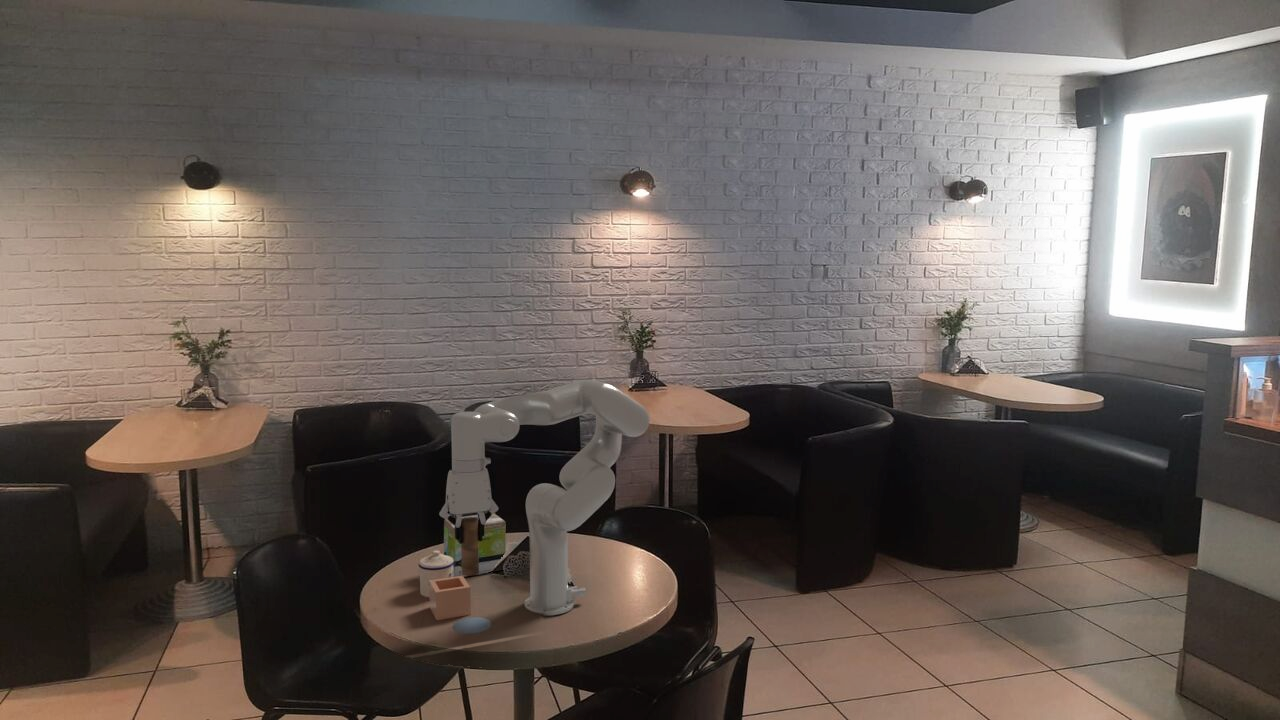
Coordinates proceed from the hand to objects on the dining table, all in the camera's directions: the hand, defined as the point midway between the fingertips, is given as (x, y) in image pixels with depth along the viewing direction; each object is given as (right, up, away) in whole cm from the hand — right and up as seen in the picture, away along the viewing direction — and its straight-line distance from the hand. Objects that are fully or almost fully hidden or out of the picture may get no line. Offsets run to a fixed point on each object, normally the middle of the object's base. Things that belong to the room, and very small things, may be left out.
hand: (469, 540), depth 206 cm
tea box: (-6, -17, +41) cm, 45 cm away
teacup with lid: (-13, -19, +25) cm, 34 cm away
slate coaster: (0, -22, +3) cm, 22 cm away
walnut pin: (0, -8, +1) cm, 8 cm away
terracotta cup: (-7, -21, +11) cm, 24 cm away
